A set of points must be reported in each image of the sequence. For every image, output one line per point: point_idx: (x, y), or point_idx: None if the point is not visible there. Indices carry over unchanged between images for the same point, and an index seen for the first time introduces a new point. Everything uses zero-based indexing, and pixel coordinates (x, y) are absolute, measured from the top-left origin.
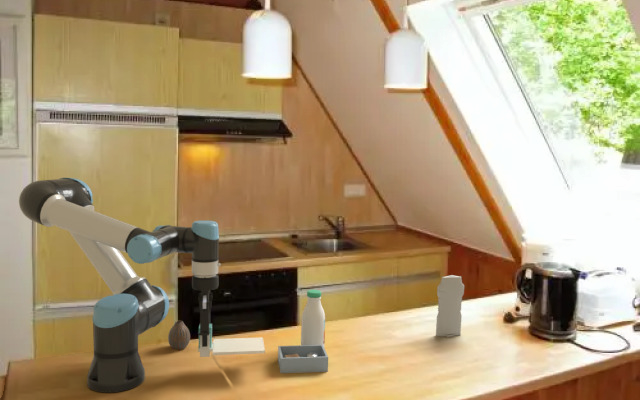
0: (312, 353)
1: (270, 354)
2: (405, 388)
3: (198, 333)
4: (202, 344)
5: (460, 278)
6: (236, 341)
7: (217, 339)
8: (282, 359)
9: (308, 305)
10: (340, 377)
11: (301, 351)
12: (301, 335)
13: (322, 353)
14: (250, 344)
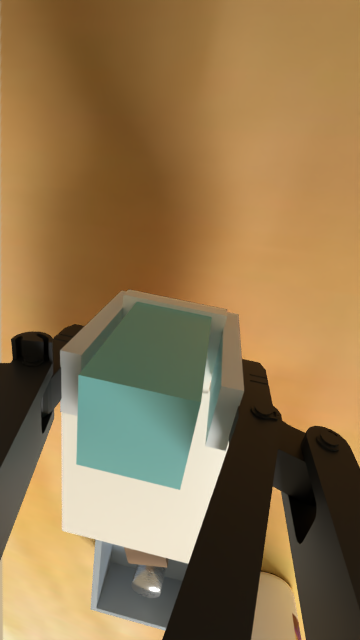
0: (153, 592)
1: (275, 507)
2: (25, 611)
3: (25, 346)
4: (61, 331)
5: None
6: (190, 483)
7: None
8: None
9: None
10: (83, 565)
11: None
12: (269, 634)
13: (155, 605)
14: (137, 514)
